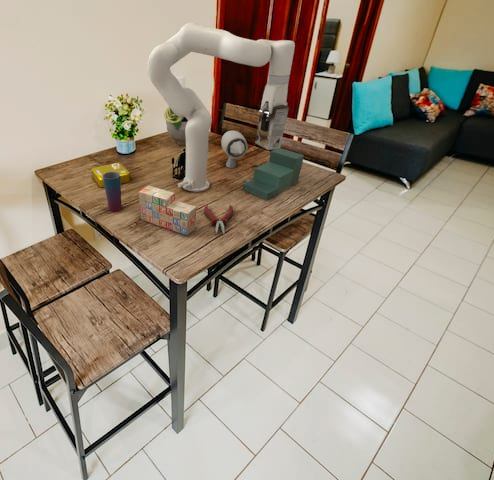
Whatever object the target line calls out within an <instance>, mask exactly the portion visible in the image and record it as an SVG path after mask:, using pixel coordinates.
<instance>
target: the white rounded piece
mask: <svg viewBox="0 0 494 480" xmlns="http://www.w3.org/2000/svg"><path fill="white" fill-rule="evenodd" d="M220 141H221V142H220V143H221V148H222V150H223V152H224V154H226V155H227V156H228V158H227V160H226V163H225V167H226V168H229V169H233V168H234V169H235V168H236V167H237V163H236V160H238V159H241V158H242V157H244V156H245V155H246V153H247V152H248V149H249V147H248V142H247V140H246V138H245V136H244V135H243V134H242V133H241V132H239V131H237V130H228V131H226V132H225V133H224V134H223V135H222V137H221V140H220Z"/></svg>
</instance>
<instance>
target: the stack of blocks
mask: <svg viewBox="0 0 494 480" xmlns="http://www.w3.org/2000/svg"><path fill="white" fill-rule="evenodd" d="M138 203H139V214H140V220H142V221H144V222H147V223H150V224H153V225H156V226H158V227H161V228H164V229H167V230H170V231H173V232H176V233H178V234H181V235H184V236H188V235H190V234H191V233H192V232H193V231H194V230H195V229H196V219H197V217H196V215H197V206H195V205H191V204H189V203H186V202H182V201H179V200H176V193H175V192H173V191H170V190H169V191H168V190H165V189H162V188H158V187H155V186H152V185H146V186H145V187H144V188H142V189H140V190H139V191H138Z"/></svg>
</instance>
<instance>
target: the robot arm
mask: <svg viewBox="0 0 494 480" xmlns="http://www.w3.org/2000/svg"><path fill="white" fill-rule="evenodd" d="M295 44H296V43H295V41H293V40H290V39H289V40H287V39H281V40H280V39H279V40H270V39H263V38H260V39H257V40H254V39H249V38H244V37H240V36H237V35H235V34H233V33H231V32H230V31H227V30H224V29H220V28H214V27H209V26H206V25H205V26H204V25H200V24H199V23H197V22H188V23H186V24H183V25H182V26H181V27H180V29H179V31H178V32H177V33H175V34H174V35H173V36H171V37H170V38H168V39H166V41H164V42H162V43H160V44H157V45H156V46H155V47H154V48H153V49H152V50H151V52H150V54H149V56H148V60H147V66H146V70H147V75H148V77H149V80H150V82H151V83H152V85H153V86H154V87H155V89H156V90H157V91H158V93H159V94H160V96H161V97H162V99H163V100H164V102H166V104H167V105H168V107H170V108H171V109H172V111H173V112H174V113H175V114H176V115H177V116H179V117H186V119H187V120H188V122H187V124H186V128H185V136H186V145H185V172H184V173H185V174H184V175H185V177H183V180H182V181H181V182H179V183H177V187H178V188H183V189H184V190H185V191H188V192H193V193H199V192H204V191H206V190H208V189H209V188H210V182H209V181H208V180H207V177H208V176H207V173H208V159H209V158H208V157H209V134H210V129H211V127H212V123H213V122H212V121H213V119H212V115H211V113H210V112H209V110H208V109H207V106H206V105H205V104H204V102H202V100H201V98H200V96H198V94H197V93H196V92H195V91H194V90H193V89H192V88H189V87H183V86H182V84H181V83H180V81H179V79H178V78H177V77H176V76H175V75H174V74H173V73H172V70H171V67H173V66H174V65H175V64H176V63H178V62H179V61H181V60H182V59H184V58H185V57H186V56H187V55H189V54H190V53H195V54H201V55H204V56H206V55H207V56H210V57H213V58H214V57H215V58H219V59H222V60H225V61H231V62H233V63H236V64H241V65H246V66H251V67H255V68H256V67H257V68H260V67H263V66H265V65H266V64H268V62H269V65H268V67H269V68H268V74H267V82H266V84H265V86H264V90H263V93H262V99H261V104H260V109H259V111H258V112H259V116H260V117H261V120H262V121H261V128H260V130H262V131H266V132H267V131H268V127H269V121H268V120H269V118H270V114H272V111H273V107H275V106H279V105H285V106H288V102H287V99H288V92H289V91H288V90H289V88H288V87H289V83H290V82H289V81H290V77H291V72H292V65H293V59H294V54H295V47H296V45H295ZM267 110H269V112H267ZM266 114H268V115H267V116H266Z"/></svg>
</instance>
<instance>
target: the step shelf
mask: <svg viewBox="0 0 494 480" xmlns="http://www.w3.org/2000/svg"><path fill="white" fill-rule="evenodd" d="M304 157H305V155H304V154H302V153H299V152H294V151H291V150H287V149H284V148H281V147H280V148H279V149H272V150H270V154H269V159H268V161H267V162H265V163H263V164H261V165H258V166H257V167H255V168H254V170H253V178H251V179H250V180H248V181H246V182H243V183H242V189H241V190H242V191H245V192H247V193H250V194H253V195H254V196H257V197H259V198H262V199H264V200H266V201H267V200H269V199H271V198H273V197H274V196H276V195H278V194H280V193H281V192H283V191H284V190H286V189H289V188H290V187H292V186H293V185H296V184H297V183H299V180H300V175H301V172H302V171H301V170H302V167H303V163H304Z"/></svg>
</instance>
